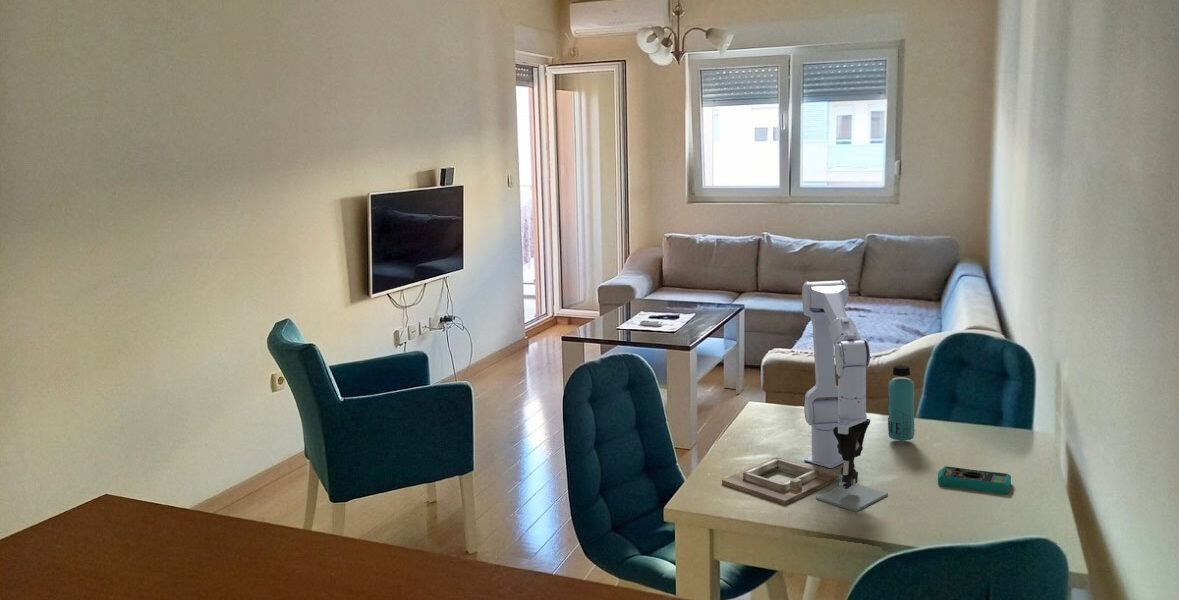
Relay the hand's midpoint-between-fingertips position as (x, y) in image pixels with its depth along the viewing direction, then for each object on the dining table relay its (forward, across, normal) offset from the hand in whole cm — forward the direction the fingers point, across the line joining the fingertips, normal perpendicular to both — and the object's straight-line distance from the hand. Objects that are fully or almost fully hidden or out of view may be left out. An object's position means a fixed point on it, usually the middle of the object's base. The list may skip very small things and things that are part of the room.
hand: (852, 456), depth 198 cm
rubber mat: (+9, 0, 0) cm, 9 cm away
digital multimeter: (+10, -18, +22) cm, 30 cm away
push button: (+7, 0, -1) cm, 7 cm away
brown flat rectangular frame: (+9, -3, -17) cm, 20 cm away
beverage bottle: (+10, -40, +2) cm, 41 cm away
